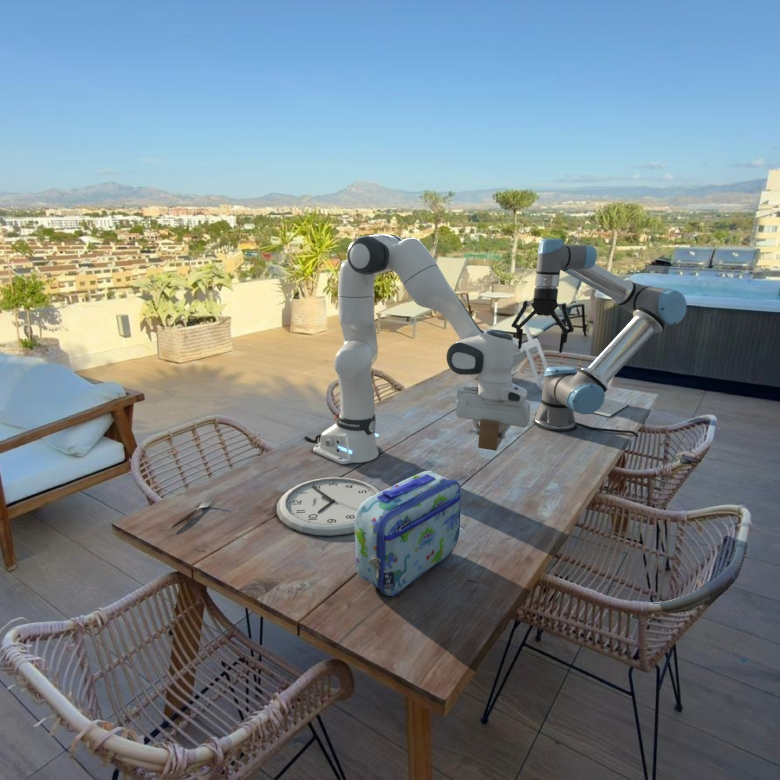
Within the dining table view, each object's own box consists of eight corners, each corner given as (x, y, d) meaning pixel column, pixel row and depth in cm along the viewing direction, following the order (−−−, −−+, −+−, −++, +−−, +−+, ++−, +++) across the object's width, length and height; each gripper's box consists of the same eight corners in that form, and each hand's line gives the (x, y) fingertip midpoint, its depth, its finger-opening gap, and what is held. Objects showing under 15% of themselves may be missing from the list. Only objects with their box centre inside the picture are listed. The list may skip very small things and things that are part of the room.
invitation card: (608, 416, 214) (573, 407, 224) (608, 416, 214) (573, 408, 224) (628, 404, 229) (594, 396, 238) (628, 405, 229) (594, 397, 238)
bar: (496, 416, 171) (498, 392, 169) (512, 418, 170) (515, 395, 167) (478, 447, 147) (480, 420, 144) (496, 450, 145) (498, 423, 143)
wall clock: (392, 527, 129) (268, 531, 127) (391, 533, 130) (269, 537, 127) (383, 473, 158) (282, 475, 155) (383, 478, 158) (282, 480, 156)
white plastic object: (488, 419, 266) (468, 396, 241) (469, 346, 288) (449, 319, 263) (559, 395, 254) (545, 368, 229) (533, 321, 276) (519, 290, 251)
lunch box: (383, 609, 104) (384, 516, 98) (348, 583, 111) (347, 495, 105) (463, 555, 122) (469, 473, 115) (429, 536, 129) (432, 458, 123)
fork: (167, 528, 130) (166, 521, 130) (209, 498, 145) (208, 492, 144) (175, 530, 130) (174, 523, 129) (216, 500, 144) (216, 494, 143)
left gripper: (454, 387, 145) (451, 434, 149) (530, 397, 138) (525, 446, 142) (460, 381, 150) (457, 426, 154) (533, 391, 143) (528, 437, 147)
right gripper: (506, 286, 174) (501, 348, 180) (586, 290, 165) (577, 356, 171) (510, 284, 180) (505, 344, 187) (586, 288, 172) (578, 351, 178)
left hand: (490, 436), depth 148 cm, fingers closed on bar, 5 cm apart
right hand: (539, 350), depth 179 cm, fingers open, 13 cm apart
